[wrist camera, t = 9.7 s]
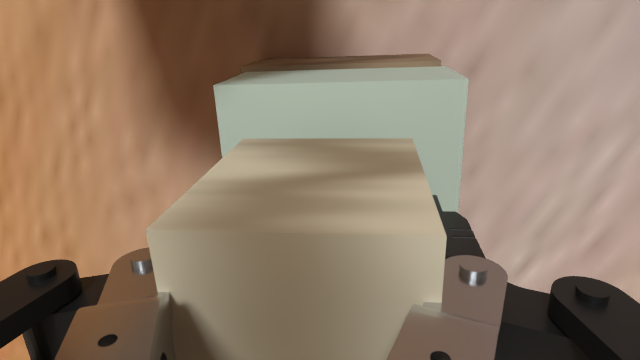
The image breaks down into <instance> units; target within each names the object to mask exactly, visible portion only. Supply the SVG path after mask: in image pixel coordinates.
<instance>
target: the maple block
mask: <svg viewBox="0 0 640 360" xmlns="http://www.w3.org/2000/svg"><path fill="white" fill-rule="evenodd" d="M146 235H147V240H148V245H149V250H150V255H151V260H152V266H153V271H154V276H155V281H156V286H157V291H158V292H170V297H171V303H172V308H173V320H172V334H173V343H174V349H175V354H176V360H386V359H387V357H388V355H389V353H390V351H391V349H392V347H393V345H394V342H395V340H396V338H397V336H398V334H399V332H400V330H401V328H402V325H403V323H404V321H405V319H406V317H407V315H408V313H409V311H410V309H411V307H412V306H413V305H414V304H416V305H420V306H423V303H424V302H436V303H442V291H443V279H444V266H445V254H446V241H447V236H446V233H445V230H444V227H443V224H442V221H441V219H440V216H439V213H438V210H437V207H436V204H435V201H434V199H433V196H432V193H431V190H430V187H429V184H428V181H427V179H426V176H425V173H424V170H423V167H422V164H421V161H420V159H419V156H418V153H417V150H416V147H415V144H414V142H413V139H412V138H291V139H242V140H241V141H240V142H239V143H238V144H237V145H236V146H235V147H234V148H233V149H231V150H230V151H229V152H228V153H227V154H226V155H225V156H224V157H223V158H222V159H221V160H220V161H219V162H218V163H216V164H215V165H214V166H213V167H212V168H211V169H210V170H209V171H208V172H207V173H206V174H205V175H204V176H203V177H201V178H200V179H199V180H198V181H197V182H196V183H195V184H194V185H193V186H192V187H191V188H190V189H189V190H188V191H187V192H185V193H184V194H183V195H182V196H181V197H180V198H179V199H178V200H177V201H176V202H175V203H174V204H173V205H172V206H170V207H169V208H168V209H167V210H166V211H165V212H164V213H163V214H162V215H161V216H160V217H159V218H158V219H157V220H155V221H154V222H153V223H152V224H151V225H150V226H149V227H148V228H147V229H146Z"/></svg>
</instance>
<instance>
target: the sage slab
mask: <svg viewBox="0 0 640 360" xmlns="http://www.w3.org/2000/svg"><path fill="white" fill-rule="evenodd" d="M213 87H214V95H215V103H216V112H217V120H218V128H219V136H220V144H221V153H222V158H223V157H224V156H225V155H226V154H227V153H228V152H229V151H230V150H231V149H233V148H234V147H235V146H236V145H237V144H238V143H239V142H240V141H241V140H242V139H291V138H412V139H413V142H414V144H415V147H416V150H417V153H418V156H419V159H420V161H421V164H422V167H423V170H424V173H425V176H426V179H427V181H428V184H429V187H430V190H431V193H432V195H437V197H438V200H439V203H440V205H441V208H442V211H456V212H457V213H458V207H459V194H460V181H461V168H462V156H463V143H464V130H465V118H466V105H467V92H468V78H466V77H464V76H463V75H461V74H459V73H457V72H456V71H454V70H452V69H450V68H449V67H447V66H436V67H401V68H366V69H331V70H296V71H261V72H245V73H242V74H240V75H237V76H235V77H233V78H230V79H228V80H225V81H223V82H220V83H218V84H215V85H213Z"/></svg>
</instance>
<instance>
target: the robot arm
mask: <svg viewBox="0 0 640 360" xmlns="http://www.w3.org/2000/svg"><path fill="white" fill-rule="evenodd" d="M432 196H433V199H434V201H435V204H436V207H437V210H438V213H439V216H440V219H441V221H442V224H443V227H444V230H445V233H446V236H447V241H446V254H445V266H444V279H443V291H442V303H436V302H424V303H423V306H420V305H416V304H414V305H413V306H412V307H411V309H410V311H409V313H408V315H407V317H406V319H405V321H404V323H403V325H402V328H401V330H400V332H399V334H398V336H397V338H396V340H395V342H394V345H393V347H392V349H391V351H390V353H389V355H388V357H387V359H386V360H640V304H639V303H638V302H637V301H635V300H634V299H632V298H631V297H630V296H628V295H627V294H626V293H624V292H623V291H621V290H620V289H618V288H616V287H615V286H613V285H610V284H608V283H605V282H603V281H600V280H596V279H592V278H587V277H580V276H568V277H562V278H559V279H557V280H555V281H554V282H553V284H552V287H551V292H550V294H548V293H543V292H539V291H534V290H529V289H525V288H521V287H518V286H515V285H513V284H510V283H508V282H507V280H508V276H507V273H506V271H505V270H504V269H503V268H502V267H501V266H500V265H498V264H497V263H495V262H493V261H491V260H488V259H486V258H485V256H484V254H483V252H482V250H481V248H480V246H479V244H478V242H477V239H475V235H474V233H473V231H471V227H470V225H469V223H468V221H467V219H465V218H464V217H463V216H461V215H460V214H458V213H457V212H456V211H442V208H441V205H440V203H439V200H438V197H437V195H432ZM172 320H173V308H172V303H171V297H170V292H158V291H157V286H156V281H155V276H154V271H153V266H152V260H151V255H150V250H149V248H143V249H139V250H135V251H132V252H130V253H128V254H126V255H124V256H122V257H120V258H119V259H118V260H117V261H116V262H115V263H114V264H113V266H112V268H111V271H110V273H109V274H105V275H99V276H92V277H85V278H80V277H79V273H78V270H77V266H76V264H75V263H74V262H72V261H69V260H51V261H46V262H42V263H38V264H35V265H32V266H30V267H27V268H25V269H23V270H21V271H19V272H17V273H15V274H14V275H12V276H10V277H8V278H6V279H4V280H3V281H1V282H0V349H1V348H2V347H4V346H5V345H6V344H8V343H9V342H11V341H12V340H14V339H15V338H17V337H18V336H20V335H21V334H23V337H24V340H25V343H26V346H27V349H28V352H29V355H30V358H31V360H176V354H175V349H174V343H173V334H172Z"/></svg>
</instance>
